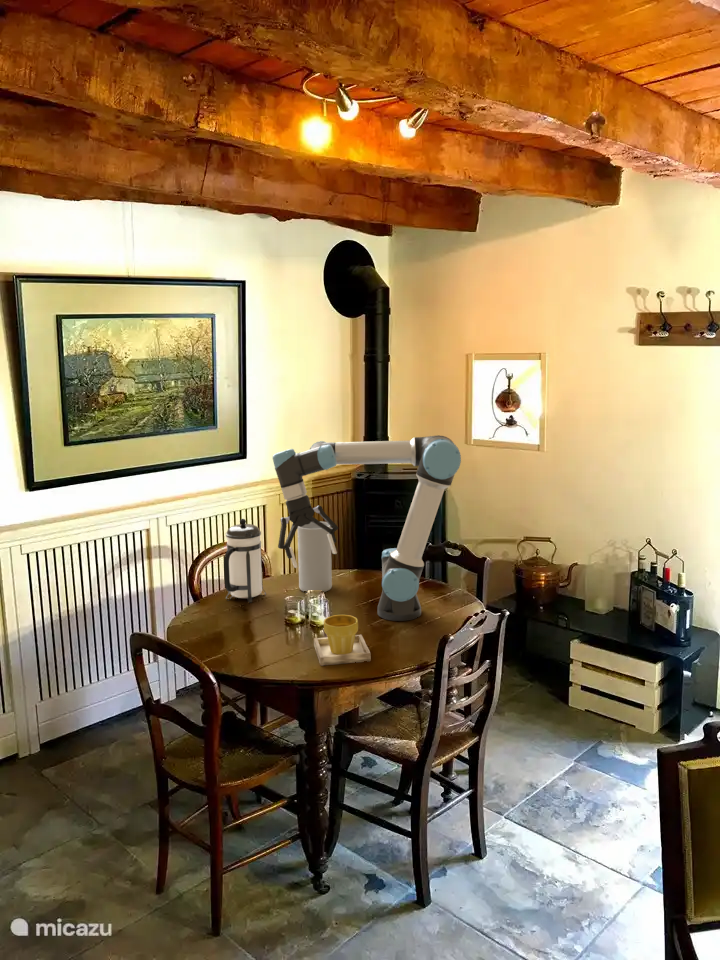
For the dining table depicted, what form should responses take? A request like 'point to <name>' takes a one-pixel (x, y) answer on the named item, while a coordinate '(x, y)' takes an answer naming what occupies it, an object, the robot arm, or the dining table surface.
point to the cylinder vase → (314, 558)
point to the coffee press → (243, 561)
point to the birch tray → (328, 658)
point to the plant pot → (341, 633)
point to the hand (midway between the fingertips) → (315, 560)
